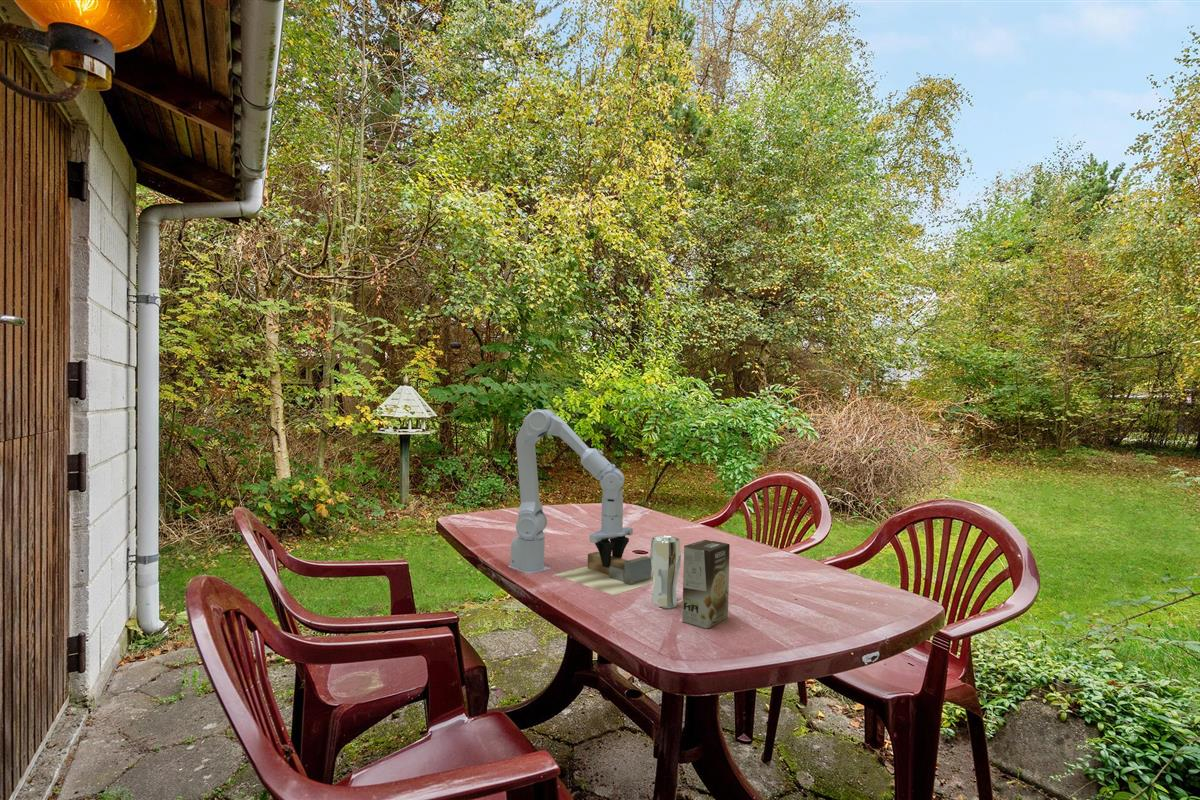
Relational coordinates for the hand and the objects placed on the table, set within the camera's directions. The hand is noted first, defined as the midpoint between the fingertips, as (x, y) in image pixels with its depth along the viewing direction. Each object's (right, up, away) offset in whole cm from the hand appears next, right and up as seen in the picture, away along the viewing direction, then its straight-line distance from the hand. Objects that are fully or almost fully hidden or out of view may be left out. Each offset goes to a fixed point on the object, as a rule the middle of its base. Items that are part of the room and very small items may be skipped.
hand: (611, 565), depth 156 cm
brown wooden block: (0, -2, 0) cm, 2 cm away
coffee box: (+20, -3, -31) cm, 37 cm away
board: (-1, -3, -4) cm, 5 cm away
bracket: (+4, -2, -4) cm, 6 cm away
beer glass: (+12, -3, -22) cm, 25 cm away
